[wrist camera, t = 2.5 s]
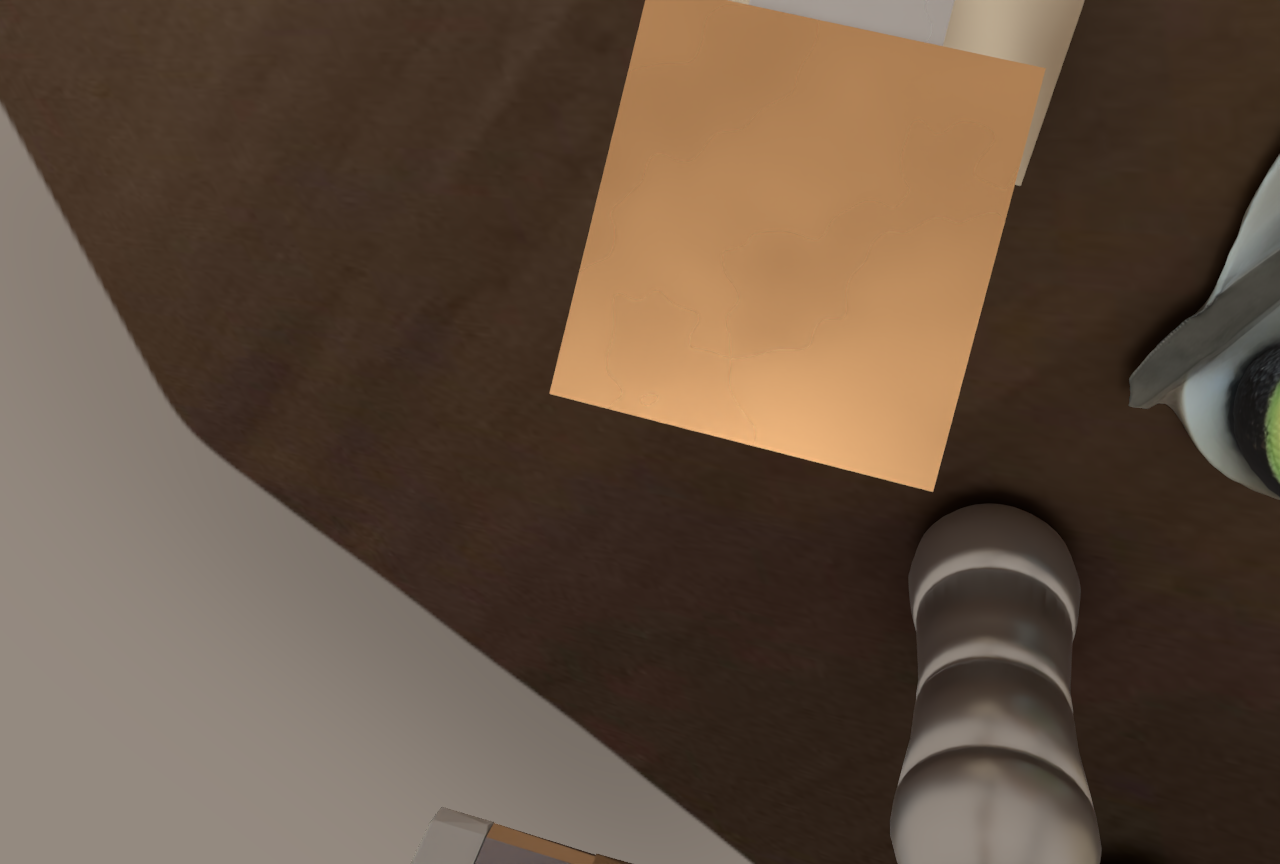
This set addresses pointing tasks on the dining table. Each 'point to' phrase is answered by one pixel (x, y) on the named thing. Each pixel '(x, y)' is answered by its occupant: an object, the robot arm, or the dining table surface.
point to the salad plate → (1230, 356)
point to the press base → (1016, 42)
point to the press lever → (798, 228)
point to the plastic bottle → (993, 698)
